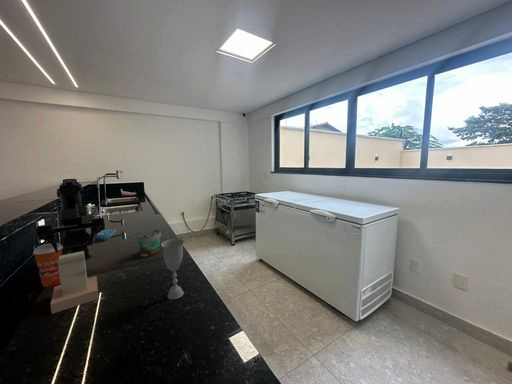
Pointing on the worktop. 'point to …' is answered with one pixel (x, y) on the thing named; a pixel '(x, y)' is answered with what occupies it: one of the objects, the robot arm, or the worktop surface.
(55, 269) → the paper cup
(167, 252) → the chalice
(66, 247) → the robot arm
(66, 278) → the pillar
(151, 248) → the food container
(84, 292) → the plinth
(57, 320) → the worktop surface
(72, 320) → the worktop surface
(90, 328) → the worktop surface
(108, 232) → the soap dispenser
